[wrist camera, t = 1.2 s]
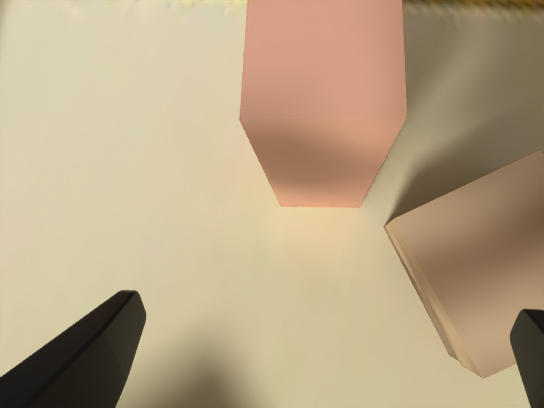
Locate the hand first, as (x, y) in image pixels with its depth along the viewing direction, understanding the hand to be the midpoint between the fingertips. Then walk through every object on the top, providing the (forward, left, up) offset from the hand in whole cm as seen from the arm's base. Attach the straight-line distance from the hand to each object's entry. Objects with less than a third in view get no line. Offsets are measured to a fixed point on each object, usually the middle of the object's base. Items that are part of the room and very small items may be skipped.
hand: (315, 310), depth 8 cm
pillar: (+7, -3, -13) cm, 16 cm away
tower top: (-2, -9, -12) cm, 15 cm away
